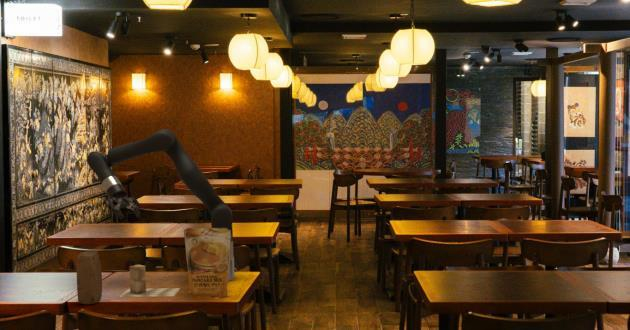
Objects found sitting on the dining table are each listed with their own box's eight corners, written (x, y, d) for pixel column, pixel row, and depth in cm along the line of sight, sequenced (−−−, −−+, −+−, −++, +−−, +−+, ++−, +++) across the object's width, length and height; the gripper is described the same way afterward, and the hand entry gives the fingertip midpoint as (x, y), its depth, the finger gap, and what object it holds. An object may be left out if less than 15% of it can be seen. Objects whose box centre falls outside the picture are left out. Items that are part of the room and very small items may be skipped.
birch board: (180, 291, 318) (180, 288, 318) (174, 299, 304) (173, 296, 304) (128, 292, 318) (128, 288, 318) (119, 300, 304) (119, 296, 304)
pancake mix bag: (187, 294, 313) (185, 226, 311) (233, 294, 312) (231, 226, 310) (183, 298, 307) (181, 229, 305) (230, 298, 305) (228, 229, 303)
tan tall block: (139, 290, 314) (138, 264, 313) (146, 292, 311) (145, 265, 310) (130, 293, 310) (129, 266, 309) (137, 294, 307) (136, 267, 306)
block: (93, 305, 297) (92, 254, 296) (75, 305, 298) (73, 254, 297) (105, 298, 308) (103, 249, 306) (87, 298, 309) (85, 249, 307)
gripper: (103, 184, 323) (119, 213, 316) (131, 181, 334) (147, 209, 327) (96, 196, 327) (112, 224, 320) (124, 193, 338) (140, 220, 331)
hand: (130, 217), depth 324 cm, fingers open, 8 cm apart
